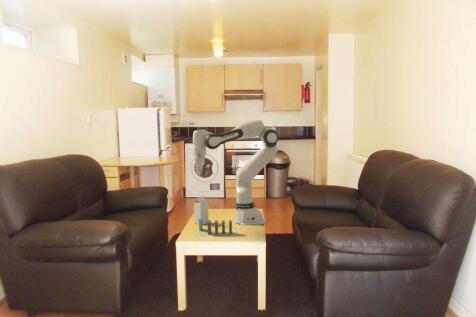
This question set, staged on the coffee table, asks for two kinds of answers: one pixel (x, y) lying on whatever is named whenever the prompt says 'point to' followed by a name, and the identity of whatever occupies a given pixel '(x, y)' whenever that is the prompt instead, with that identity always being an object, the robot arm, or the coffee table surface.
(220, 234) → the runner mat
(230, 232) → the domino
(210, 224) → the domino
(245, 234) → the coffee table surface
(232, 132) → the robot arm
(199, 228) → the domino
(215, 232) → the domino
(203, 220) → the milk carton
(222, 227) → the domino
